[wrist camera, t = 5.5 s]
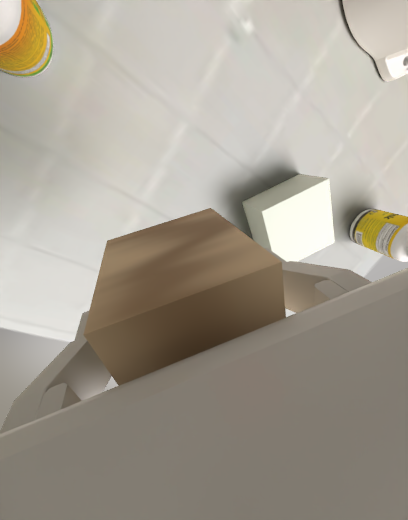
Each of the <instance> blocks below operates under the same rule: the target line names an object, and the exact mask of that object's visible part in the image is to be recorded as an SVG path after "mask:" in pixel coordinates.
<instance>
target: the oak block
mask: <svg viewBox="0 0 408 520" xmlns="http://www.w3.org/2000/svg"><path fill="white" fill-rule="evenodd" d="M284 318H286V314H285V300H284V286H283V272H282V262H281V261H280V260H279V259H277V258H276V257H275V256H274V255H272V254H271V253H270V252H268V251H267V250H266V249H264V248H263V247H262V246H260V245H259V244H258V243H256V242H255V241H254V240H252V239H251V238H250V237H248V236H247V235H246V234H244V233H243V232H242V231H241V230H239V229H238V228H237V227H235V226H234V225H233V224H231V223H230V222H229V221H227V220H226V219H225V218H223V217H222V216H221V215H219V214H218V213H217V212H215V211H214V210H213V209H211V208H209V209H206V210H203V211H200V212H197V213H193V214H190V215H187V216H184V217H181V218H178V219H174V220H171V221H168V222H165V223H162V224H159V225H156V226H152V227H149V228H146V229H143V230H140V231H137V232H133V233H130V234H127V235H124V236H121V237H118V238H115V239H111V240H108V241H107V244H106V248H105V251H104V255H103V259H102V263H101V267H100V271H99V275H98V279H97V283H96V287H95V291H94V295H93V299H92V303H91V307H90V311H89V315H88V319H87V323H86V326H85V330H84V334H83V335H84V336H85V338H86V339H87V341H88V342H89V344H90V345H91V347H92V348H93V349H94V351H95V352H96V354H97V355H98V357H99V358H100V359H101V361H102V362H103V364H104V365H105V367H106V368H107V370H108V371H109V372H110V374H111V375H112V377H113V378H114V380H115V381H116V382H117V384H118V385H122V384H124V383H127V382H129V381H132V380H134V379H137V378H139V377H142V376H144V375H146V374H149V373H151V372H154V371H156V370H159V369H161V368H164V367H166V366H169V365H171V364H173V363H176V362H178V361H181V360H183V359H186V358H188V357H191V356H193V355H196V354H198V353H200V352H203V351H205V350H208V349H210V348H213V347H215V346H218V345H220V344H223V343H225V342H227V341H230V340H232V339H235V338H237V337H240V336H242V335H245V334H247V333H249V332H252V331H254V330H257V329H259V328H262V327H264V326H267V325H269V324H271V323H274V322H276V321H279V320H281V319H284Z"/></svg>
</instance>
